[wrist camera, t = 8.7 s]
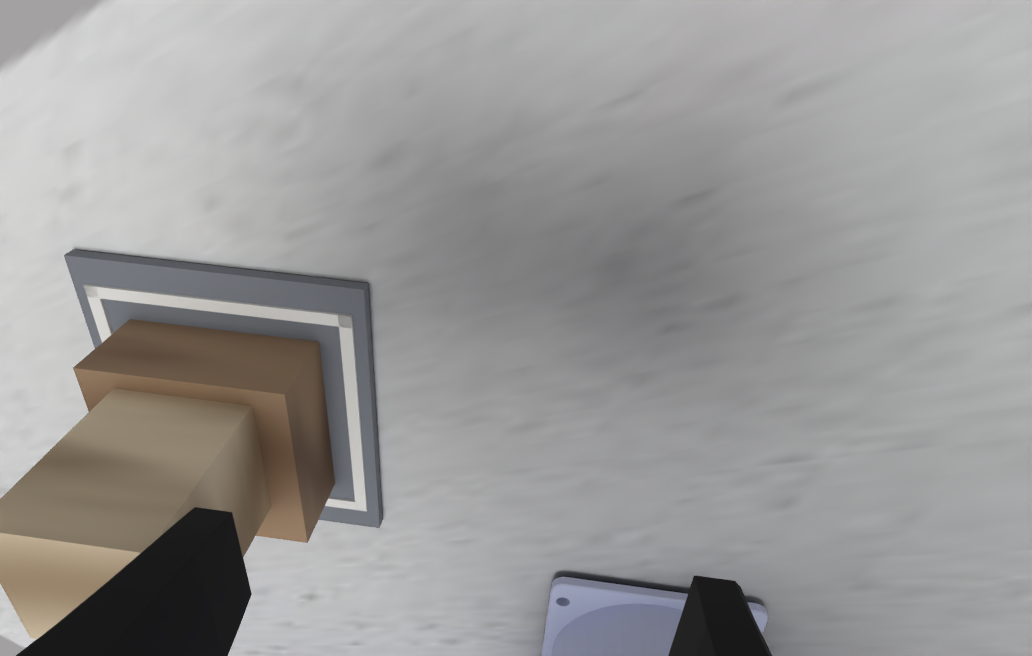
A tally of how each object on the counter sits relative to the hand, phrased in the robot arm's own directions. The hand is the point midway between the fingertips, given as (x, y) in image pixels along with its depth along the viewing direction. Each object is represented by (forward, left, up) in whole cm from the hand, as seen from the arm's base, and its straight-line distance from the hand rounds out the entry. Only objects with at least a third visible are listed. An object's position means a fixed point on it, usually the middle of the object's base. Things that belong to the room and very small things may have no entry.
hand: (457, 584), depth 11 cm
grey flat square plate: (-6, +9, -10) cm, 14 cm away
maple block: (-5, +9, -7) cm, 12 cm away
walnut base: (-6, +9, -10) cm, 14 cm away
